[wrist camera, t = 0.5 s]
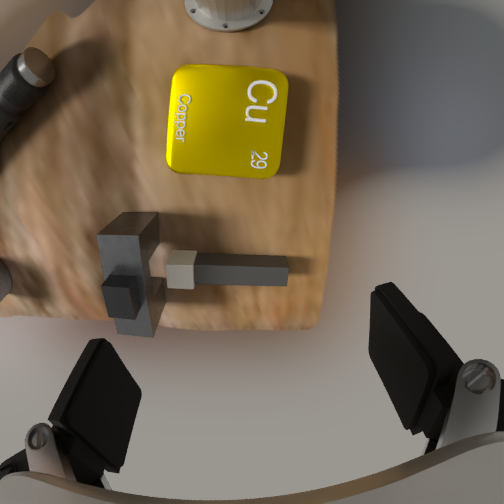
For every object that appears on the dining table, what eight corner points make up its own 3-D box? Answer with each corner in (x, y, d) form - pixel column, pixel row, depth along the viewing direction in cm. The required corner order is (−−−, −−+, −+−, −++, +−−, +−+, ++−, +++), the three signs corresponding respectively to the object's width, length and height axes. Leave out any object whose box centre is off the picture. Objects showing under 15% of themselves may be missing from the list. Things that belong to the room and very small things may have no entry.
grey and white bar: (172, 249, 44) (165, 264, 39) (285, 253, 45) (290, 268, 41) (173, 272, 46) (167, 288, 41) (282, 275, 47) (287, 292, 42)
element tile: (179, 70, 33) (172, 63, 28) (285, 76, 34) (291, 70, 30) (171, 168, 39) (163, 174, 35) (274, 175, 40) (278, 181, 36)
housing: (122, 212, 41) (86, 244, 29) (157, 212, 41) (130, 245, 30) (134, 299, 48) (112, 346, 36) (165, 302, 48) (149, 351, 37)
